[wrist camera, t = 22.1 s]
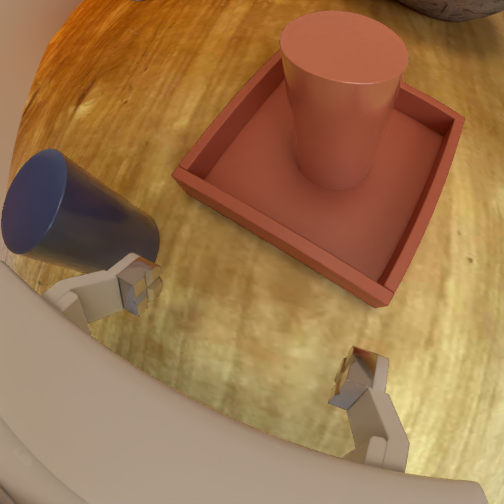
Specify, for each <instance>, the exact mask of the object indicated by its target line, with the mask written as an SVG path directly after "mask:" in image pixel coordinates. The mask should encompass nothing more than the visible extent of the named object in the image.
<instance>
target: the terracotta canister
mask: <svg viewBox="0 0 504 504" xmlns="http://www.w3.org/2000/svg"><path fill="white" fill-rule="evenodd" d="M279 41H280V50H281V56H282V63H283V70H284V78H285V85H286V93H287V100H288V109H289V117H290V126H291V134H292V144H293V153H294V160H295V163H296V166H297V168H298V170H299V171H300V172H301V174H302V175H303V176H304V177H305V178H306V179H307V180H308V181H310V182H311V183H313V184H315V185H317V186H319V187H322V188H325V189H329V190H345V189H349V188H352V187H355V186H357V185H359V184H360V183H362V182H363V181H364V180H365V179H366V178H367V177H368V175H369V174H370V172H371V170H372V167H373V165H374V162H375V159H376V157H377V154H378V152H379V149H380V146H381V143H382V141H383V138H384V135H385V132H386V130H387V127H388V124H389V121H390V118H391V115H392V112H393V109H394V106H395V103H396V100H397V97H398V94H399V91H400V88H401V85H402V82H403V78H404V75H405V72H406V68H407V65H408V60H409V57H408V52H407V48H406V46H405V44H404V43H403V41H402V40H401V39H400V37H399V36H398V35H397V34H396V33H395V32H393V31H392V30H391V29H390V28H388V27H387V26H385V25H383V24H382V23H380V22H378V21H376V20H374V19H371V18H369V17H366V16H363V15H360V14H356V13H351V12H345V11H319V12H313V13H309V14H306V15H303V16H300V17H298V18H296V19H294V20H293V21H291V22H290V23H289V24H288V25H287V26H285V28H284V29H283V31H282V33H281V35H280V40H279Z"/></svg>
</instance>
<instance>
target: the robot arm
mask: <svg viewBox="0 0 504 504" xmlns="http://www.w3.org/2000/svg"><path fill="white" fill-rule="evenodd" d="M161 274H162V268H161V267H160V266H159V265H157V264H155V263H153V262H151V261H149V260H147V259H145V258H143V257H141V256H139V255H137V254H135V253H129V254H128V255H127V256H125V257H124V258H123V259H122V260H120V261H119V262H118V263H116V264H115V265H114V266H113V267H111V268H110V269H109V270H108V271H105V270H102V271H98V272H93V273H89V274H85V275H80V276H76V277H72V278H67V279H63V280H59V281H58V282H57V283H55V284H54V285H53V286H52V287H50V288H49V289H48V290H47V291H45V292H44V293H43V294H42V295H39V294H38V293H37V292H36V291H35V290H34V289H32V288H31V287H30V286H29V285H28V284H27V283H26V282H25V281H24V280H23V279H22V278H20V277H19V276H18V275H17V274H16V273H15V272H14V271H13V270H12V269H11V268H10V267H9V266H8V265H7V264H6V263H5V262H3V261H0V504H489V503H488V500H487V498H486V496H485V493H484V491H483V489H482V487H481V485H480V484H479V483H478V482H475V481H467V480H454V479H444V478H435V477H428V476H421V475H414V474H408V473H405V468H406V463H407V457H408V451H409V445H410V443H409V441H408V438H407V436H406V433H405V431H404V429H403V426H402V424H401V422H400V419H399V417H398V415H397V412H396V410H395V408H394V405H393V403H392V401H391V399H390V396H389V394H386V393H385V391H386V384H387V376H388V368H389V358H387V357H384V356H381V355H378V354H376V353H373V352H370V351H367V350H364V349H361V348H358V347H355V346H352V347H351V348H350V350H349V351H348V355H347V357H346V358H344V359H343V361H342V362H341V364H340V366H339V368H338V371H337V373H336V376H335V383H336V384H335V385H334V387H333V388H332V390H331V393H330V397H329V400H328V404H331V405H333V406H336V407H339V408H342V409H344V410H347V415H348V419H349V422H350V426H351V430H352V434H353V439H354V443H355V447H356V448H355V449H354V450H353V451H351V452H350V453H348V454H347V455H345V456H344V457H342V458H338V457H335V456H332V455H328V454H325V453H322V452H319V451H315V450H312V449H309V448H306V447H303V446H300V445H298V444H295V443H292V442H289V441H286V440H284V439H281V438H278V437H276V436H273V435H271V434H268V433H266V432H263V431H261V430H258V429H256V428H254V427H251V426H249V425H247V424H244V423H242V422H240V421H237V420H235V419H233V418H231V417H229V416H227V415H224V414H222V413H220V412H218V411H216V410H214V409H212V408H210V407H208V406H206V405H204V404H202V403H200V402H198V401H196V400H194V399H192V398H190V397H188V396H186V395H185V394H183V393H181V392H179V391H177V390H175V389H174V388H172V387H170V386H168V385H167V384H165V383H163V382H161V381H160V380H158V379H156V378H154V377H153V376H151V375H149V374H148V373H146V372H145V371H143V370H141V369H140V368H138V367H136V366H135V365H133V364H132V363H130V362H129V361H127V360H126V359H124V358H122V357H121V356H119V355H118V354H116V353H115V352H113V351H112V350H110V349H109V348H108V347H106V346H105V345H103V344H102V343H100V342H99V341H98V340H96V339H95V338H93V337H92V336H91V331H90V329H89V326H88V323H91V322H93V321H96V320H99V319H101V318H104V317H106V316H109V315H111V314H114V313H117V312H119V311H122V310H124V309H125V310H127V311H129V312H131V313H132V314H134V315H136V316H138V317H139V316H140V315H141V314H142V313H143V312H144V311H145V310H146V309H147V308H148V303H149V302H153V301H155V300H156V299H157V298H158V297H159V295H160V293H161V291H162V286H163V283H162V280H161V278H160V275H161Z"/></svg>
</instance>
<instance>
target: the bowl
mask: <svg viewBox="0 0 504 504" xmlns="http://www.w3.org/2000/svg"><path fill="white" fill-rule="evenodd" d="M398 1H399V2H401V3H403V4H404V5H406V6H408V7H410V8H412V9H414V10H416V11H418V12H420V13H423V14H425V15H427V16H430V17H434V18H438V19H441V20H447V21H453V22H461V21H467V20H472V19H476V18H481V17H486V16H490V15H493V14H496V13H499V12H501V11H503V10H504V0H398Z"/></svg>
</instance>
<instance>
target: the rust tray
mask: <svg viewBox="0 0 504 504" xmlns="http://www.w3.org/2000/svg"><path fill="white" fill-rule="evenodd" d="M464 121H465V118H464V117H463V116H461V115H460V114H458V113H457V112H455V111H453V110H452V109H450V108H449V107H447V106H445V105H444V104H442V103H440V102H439V101H437V100H435V99H434V98H432V97H430V96H428V95H427V94H425V93H423V92H421V91H419V90H417V89H416V88H414V87H412V86H410V85H408V84H406V83H404V82H402V85H401V88H400V91H399V94H398V97H397V100H396V103H395V106H394V109H393V112H392V115H391V118H390V121H389V124H388V127H387V130H386V132H385V135H384V138H383V141H382V143H381V146H380V149H379V152H378V154H377V157H376V159H375V162H374V165H373V167H372V170H371V172H370V174H369V175H368V177H367V178H366V179H365V180H364V181H363V182H362V183H360V184H359V185H357V186H355V187H352V188H349V189H345V190H329V189H325V188H322V187H319V186H317V185H315V184H313V183H311V182H310V181H308V180H307V179H306V178H305V177H304V176H303V175H302V174H301V172H300V171H299V170H298V168H297V166H296V163H295V160H294V153H293V144H292V134H291V126H290V117H289V109H288V100H287V93H286V85H285V78H284V70H283V63H282V56H281V50H280V49H279V50H278V51H277V52H276V53H275V54H274V55H273V56H272V57H271V58H270V59H269V60H268V61H267V62H266V63H265V64H264V65H263V66H262V67H261V68H260V69H259V70H258V71H257V72H256V73H255V74H254V76H253V77H252V78H251V79H250V80H249V81H248V82H247V83H246V84H245V85H244V86H243V88H242V89H241V90H240V91H239V92H238V93H237V94H236V95H235V97H234V98H233V99H232V100H231V101H230V102H229V103H228V105H227V106H226V107H225V108H224V109H223V110H222V112H221V113H220V114H219V115H218V116H217V117H216V119H215V120H214V121H213V122H212V124H211V125H210V126H209V127H208V128H207V130H206V131H205V132H204V133H203V135H202V136H201V137H200V138H199V140H198V141H197V142H196V143H195V145H194V146H193V147H192V148H191V150H190V151H189V152H188V154H187V155H186V156H185V158H184V159H183V160H182V162H181V163H180V164H179V167H177V168H176V169H175V171H174V172H173V173H172V175H171V176H172V177H173V178H174V179H175V181H176V182H177V183H178V184H179V185H180V186H181V187H182V188H183V189H184V190H185V191H186V192H187V194H189V195H191V196H193V197H194V198H196V199H198V200H199V201H201V202H203V203H204V204H206V205H208V206H209V207H211V208H213V209H214V210H216V211H218V212H219V213H221V214H223V215H224V216H226V217H228V218H229V219H231V220H233V221H234V222H236V223H238V224H239V225H241V226H243V227H244V228H246V229H248V230H249V231H251V232H253V233H254V234H256V235H258V236H259V237H261V238H263V239H264V240H266V241H268V242H269V243H271V244H272V245H274V246H276V247H277V248H279V249H281V250H282V251H284V252H286V253H287V254H289V255H290V256H292V257H294V258H295V259H297V260H299V261H300V262H302V263H304V264H305V265H307V266H308V267H310V268H312V269H313V270H315V271H316V272H318V273H320V274H321V275H323V276H325V277H326V278H328V279H329V280H331V281H333V282H334V283H336V284H337V285H339V286H341V287H342V288H344V289H345V290H347V291H349V292H350V293H352V294H353V295H355V296H357V297H358V298H360V299H361V300H363V301H364V302H366V303H368V304H369V305H371V306H372V307H374V308H378V307H384V306H388V305H389V303H390V301H391V299H392V298H393V296H394V293H395V292H396V290H397V288H398V286H399V284H400V283H401V281H402V279H403V277H404V275H405V273H406V271H407V269H408V267H409V265H410V263H411V261H412V259H413V257H414V255H415V252H416V250H417V248H418V246H419V244H420V242H421V240H422V237H423V235H424V233H425V231H426V228H427V226H428V224H429V221H430V219H431V217H432V214H433V212H434V209H435V207H436V204H437V202H438V199H439V197H440V194H441V192H442V189H443V186H444V184H445V181H446V178H447V175H448V172H449V170H450V167H451V164H452V161H453V158H454V155H455V151H456V148H457V145H458V142H459V138H460V135H461V132H462V128H463V124H464Z"/></svg>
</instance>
